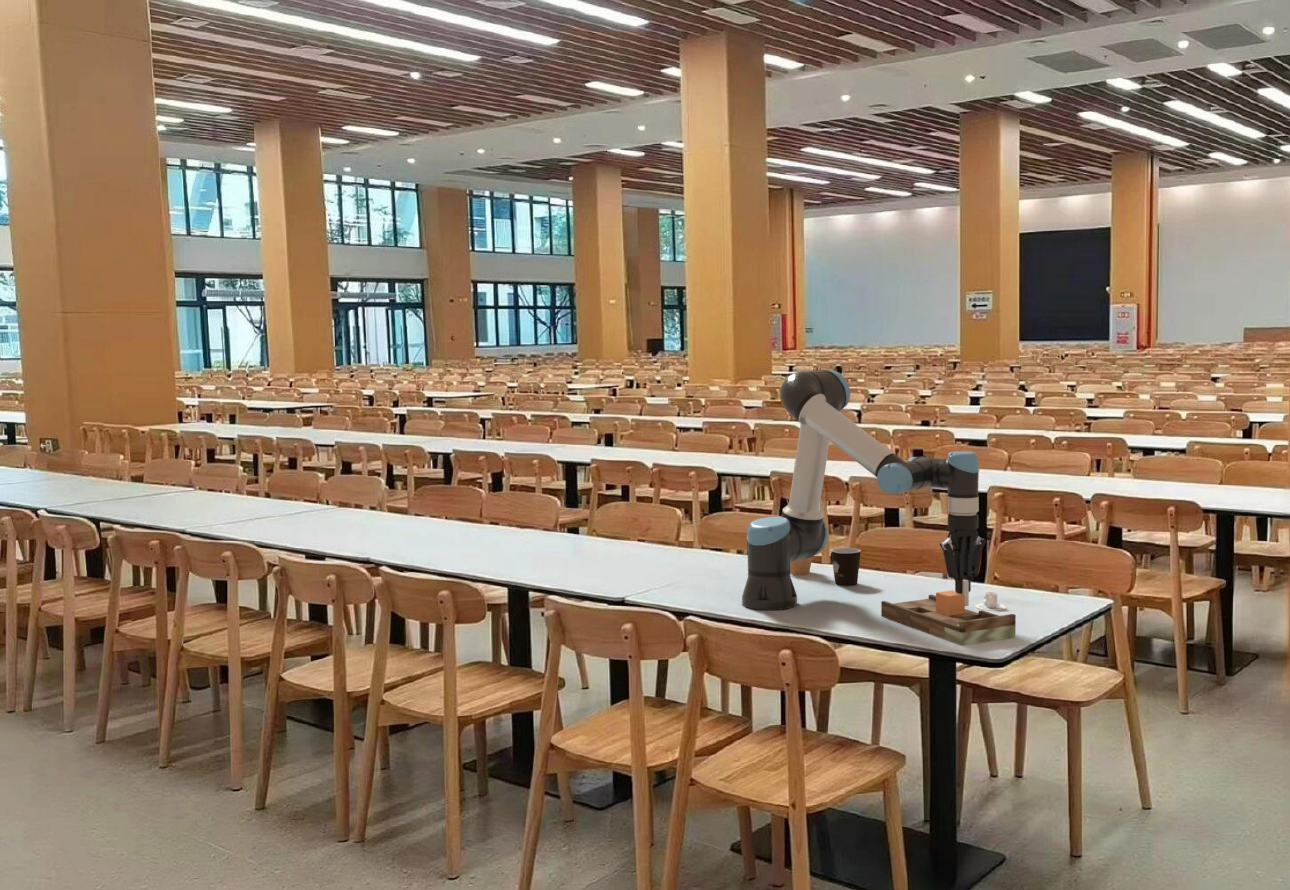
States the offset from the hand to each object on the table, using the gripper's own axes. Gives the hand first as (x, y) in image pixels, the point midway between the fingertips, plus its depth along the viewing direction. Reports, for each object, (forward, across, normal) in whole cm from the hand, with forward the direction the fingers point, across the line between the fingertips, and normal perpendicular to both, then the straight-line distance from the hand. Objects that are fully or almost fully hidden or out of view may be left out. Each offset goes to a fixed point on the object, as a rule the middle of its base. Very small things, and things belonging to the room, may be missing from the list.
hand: (962, 605), depth 308 cm
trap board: (+5, +5, 0) cm, 7 cm away
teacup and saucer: (+6, -21, -10) cm, 24 cm away
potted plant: (+5, +2, -75) cm, 75 cm away
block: (+2, +3, -1) cm, 4 cm away
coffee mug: (+5, -2, -56) cm, 56 cm away
